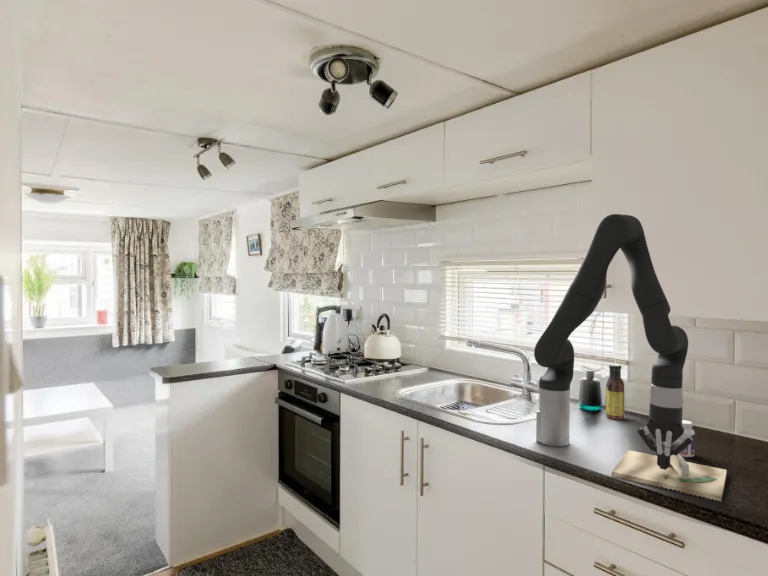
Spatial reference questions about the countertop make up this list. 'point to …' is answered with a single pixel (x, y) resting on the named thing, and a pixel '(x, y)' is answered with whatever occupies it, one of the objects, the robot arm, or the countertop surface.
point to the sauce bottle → (615, 393)
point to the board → (672, 475)
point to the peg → (679, 463)
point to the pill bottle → (687, 426)
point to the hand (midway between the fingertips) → (663, 468)
